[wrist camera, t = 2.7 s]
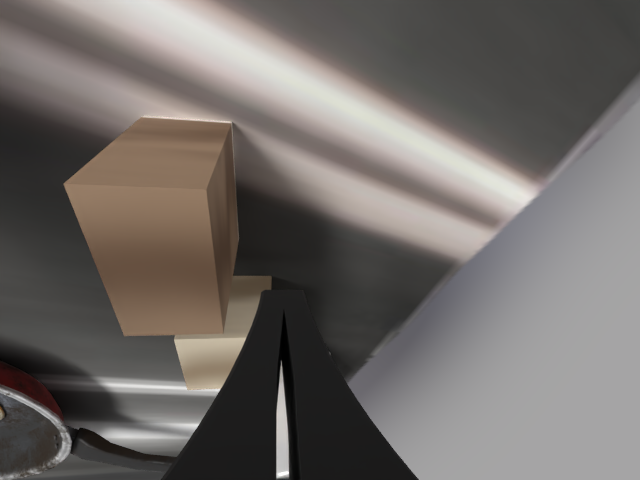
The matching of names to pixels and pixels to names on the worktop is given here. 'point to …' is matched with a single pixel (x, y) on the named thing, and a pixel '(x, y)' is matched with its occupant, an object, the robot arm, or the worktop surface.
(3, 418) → the frying pan
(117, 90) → the worktop surface
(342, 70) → the worktop surface
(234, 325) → the maple block
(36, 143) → the worktop surface
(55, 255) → the worktop surface
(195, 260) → the walnut block
